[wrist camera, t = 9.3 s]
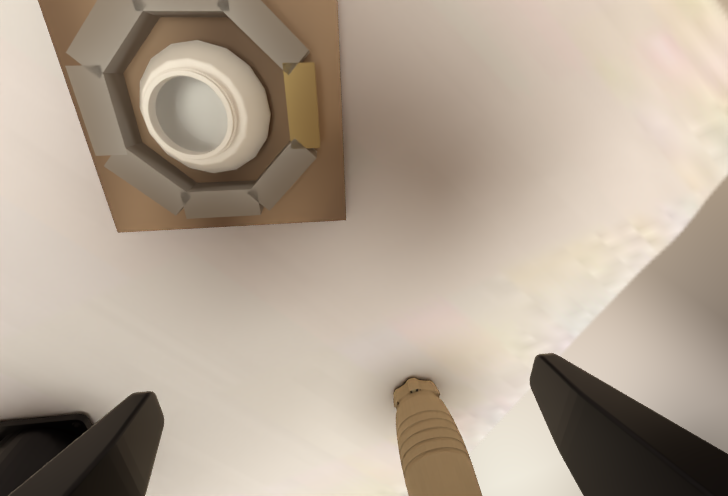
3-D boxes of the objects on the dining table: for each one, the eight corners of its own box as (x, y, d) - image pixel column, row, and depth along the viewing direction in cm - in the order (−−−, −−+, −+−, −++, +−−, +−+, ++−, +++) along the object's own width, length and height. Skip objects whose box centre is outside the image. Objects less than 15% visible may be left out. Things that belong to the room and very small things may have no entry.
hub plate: (129, 223, 18) (100, 245, 16) (41, -49, 13) (-19, -76, 11) (344, 212, 19) (348, 231, 17) (334, -45, 14) (336, -69, 12)
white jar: (181, 12, 14) (128, 122, 15) (148, -2, 11) (87, 132, 13) (292, 97, 15) (235, 188, 17) (287, 101, 13) (219, 209, 14)
